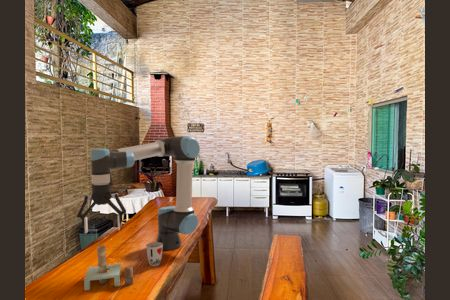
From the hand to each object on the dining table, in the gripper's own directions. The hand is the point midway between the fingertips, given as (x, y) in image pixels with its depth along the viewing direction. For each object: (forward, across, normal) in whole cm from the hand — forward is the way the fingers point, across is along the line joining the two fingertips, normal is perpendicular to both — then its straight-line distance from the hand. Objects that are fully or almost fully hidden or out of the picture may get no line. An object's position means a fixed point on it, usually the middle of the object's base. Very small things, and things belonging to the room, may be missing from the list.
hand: (102, 230), depth 137 cm
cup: (+24, -23, -13) cm, 35 cm away
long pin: (+23, +1, 0) cm, 23 cm away
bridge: (+23, 0, 0) cm, 23 cm away
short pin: (+23, -11, +5) cm, 26 cm away
